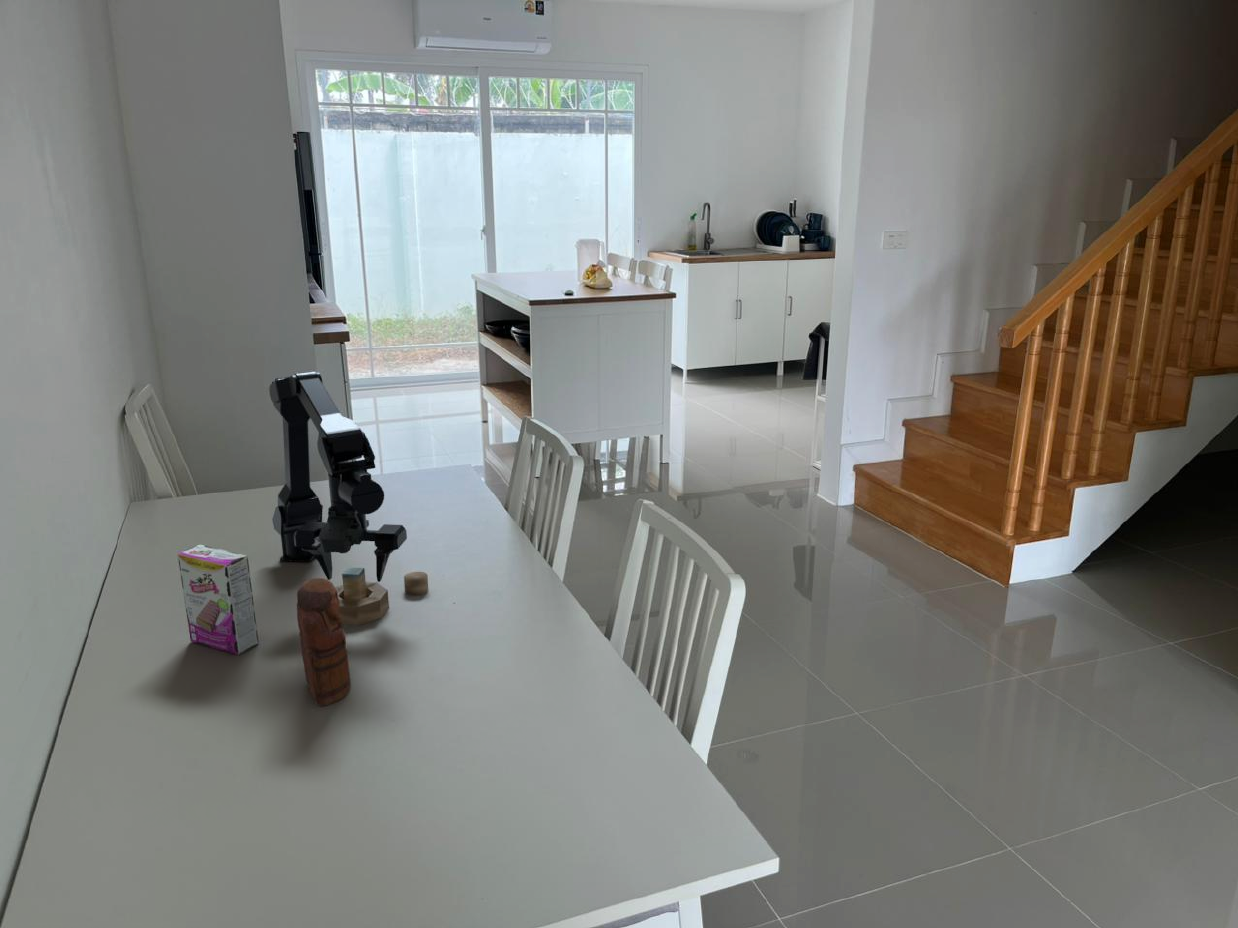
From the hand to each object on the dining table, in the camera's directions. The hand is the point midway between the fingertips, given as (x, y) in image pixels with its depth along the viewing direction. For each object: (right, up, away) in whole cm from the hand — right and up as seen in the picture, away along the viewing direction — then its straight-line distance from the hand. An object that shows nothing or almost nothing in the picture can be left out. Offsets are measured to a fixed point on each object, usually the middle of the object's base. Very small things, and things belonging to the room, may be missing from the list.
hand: (354, 579), depth 169 cm
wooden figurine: (+2, -14, -23) cm, 27 cm away
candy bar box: (-19, -10, -10) cm, 24 cm away
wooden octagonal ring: (0, -6, +2) cm, 6 cm away
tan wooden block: (0, -6, +2) cm, 6 cm away
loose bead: (+9, -3, +11) cm, 14 cm away
